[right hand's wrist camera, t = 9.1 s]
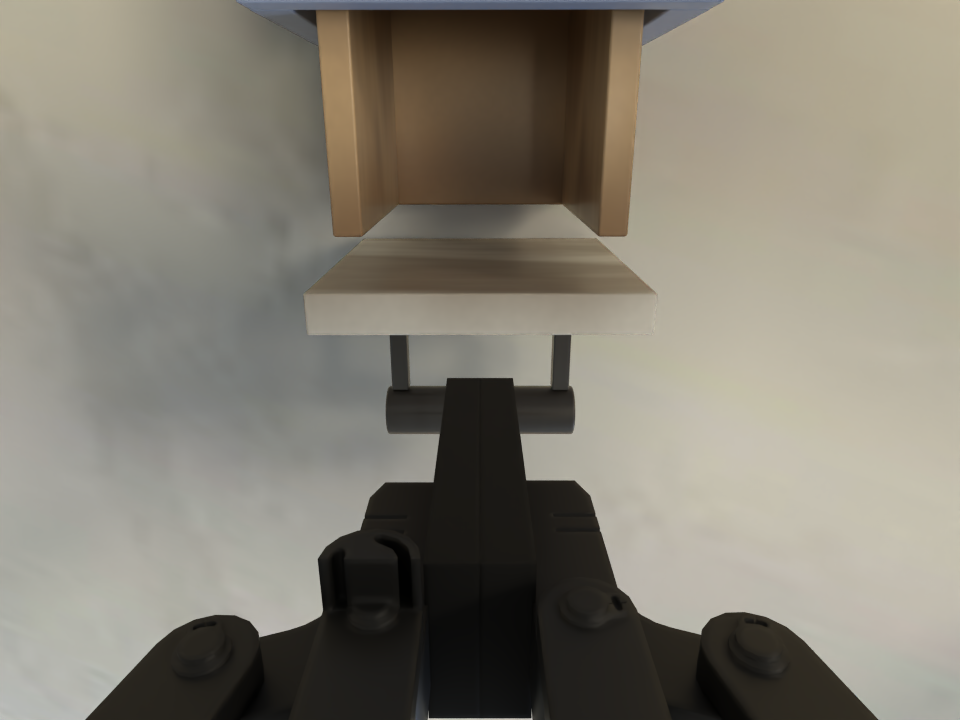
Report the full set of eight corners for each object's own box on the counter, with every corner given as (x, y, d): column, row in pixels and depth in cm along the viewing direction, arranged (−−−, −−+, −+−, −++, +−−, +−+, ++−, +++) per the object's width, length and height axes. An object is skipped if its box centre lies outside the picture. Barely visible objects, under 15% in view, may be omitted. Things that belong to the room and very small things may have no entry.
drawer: (588, 384, 28) (638, 500, 19) (372, 384, 28) (322, 500, 19) (625, -221, 21) (732, -484, 12) (334, -221, 21) (226, -483, 12)
